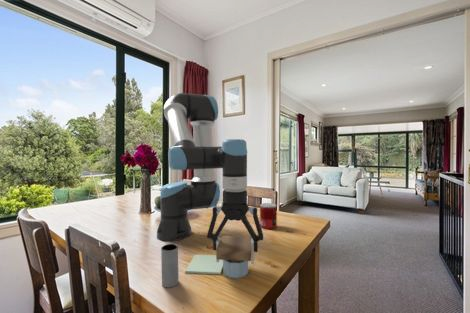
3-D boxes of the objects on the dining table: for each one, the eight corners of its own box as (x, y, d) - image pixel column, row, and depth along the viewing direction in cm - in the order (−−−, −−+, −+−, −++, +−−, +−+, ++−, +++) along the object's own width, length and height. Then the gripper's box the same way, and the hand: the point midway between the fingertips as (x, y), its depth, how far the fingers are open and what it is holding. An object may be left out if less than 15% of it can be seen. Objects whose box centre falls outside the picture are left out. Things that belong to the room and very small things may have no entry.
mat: (185, 272, 67) (185, 270, 67) (195, 256, 78) (195, 254, 78) (220, 274, 66) (220, 272, 66) (225, 257, 77) (225, 255, 77)
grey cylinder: (158, 286, 61) (157, 249, 61) (168, 277, 65) (168, 242, 65) (171, 289, 59) (171, 251, 59) (181, 280, 64) (181, 244, 63)
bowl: (221, 277, 64) (221, 262, 64) (225, 264, 72) (225, 251, 72) (247, 279, 64) (247, 263, 64) (248, 265, 71) (248, 251, 71)
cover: (216, 259, 64) (216, 249, 64) (221, 244, 74) (221, 235, 74) (250, 261, 63) (250, 250, 63) (251, 245, 73) (251, 236, 72)
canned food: (276, 230, 104) (276, 207, 104) (259, 229, 105) (259, 206, 105) (276, 224, 111) (276, 203, 111) (261, 224, 113) (260, 202, 113)
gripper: (195, 191, 65) (196, 265, 66) (272, 192, 63) (273, 269, 63) (202, 187, 72) (202, 253, 73) (271, 187, 70) (271, 256, 71)
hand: (235, 260), depth 68 cm, fingers closed on cover, 10 cm apart
